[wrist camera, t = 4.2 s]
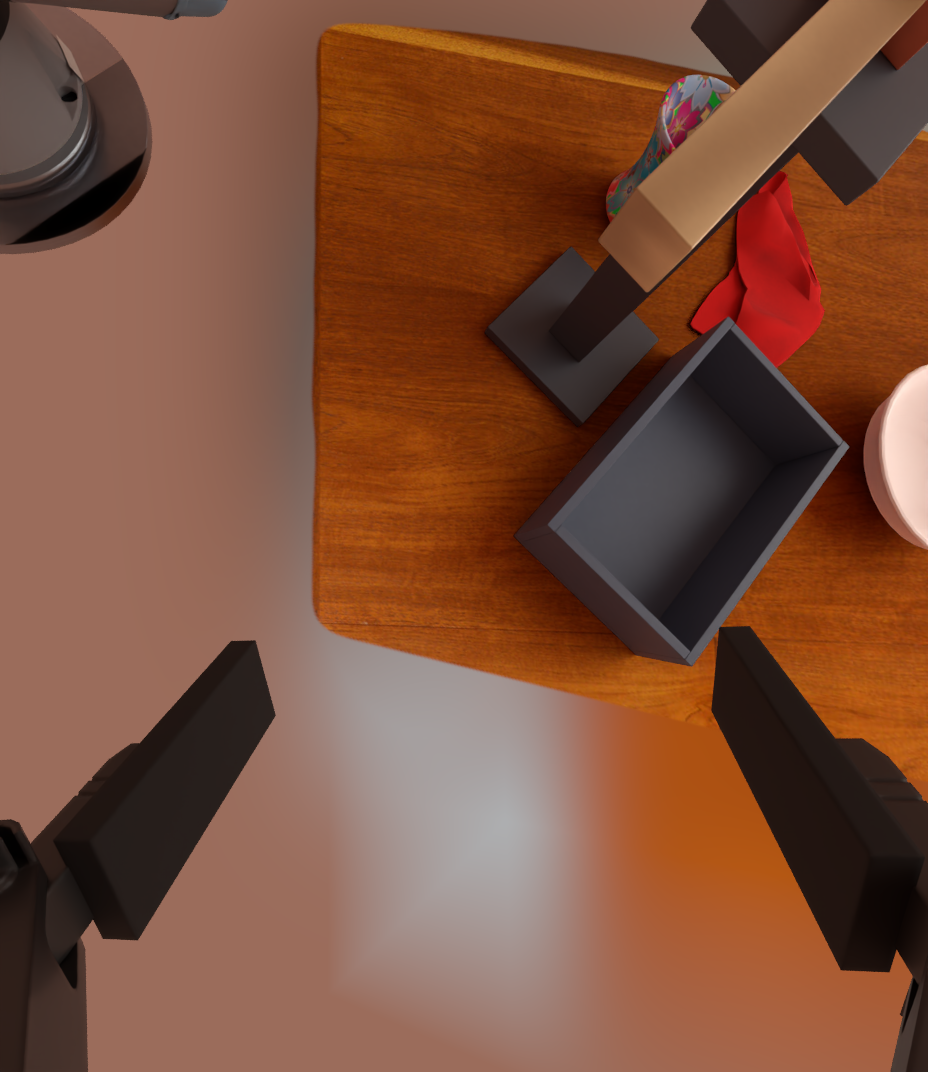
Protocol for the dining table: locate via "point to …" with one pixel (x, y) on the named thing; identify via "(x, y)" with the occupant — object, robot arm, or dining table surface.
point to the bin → (685, 496)
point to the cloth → (768, 278)
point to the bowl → (901, 458)
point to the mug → (670, 131)
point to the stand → (826, 144)
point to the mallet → (756, 130)
